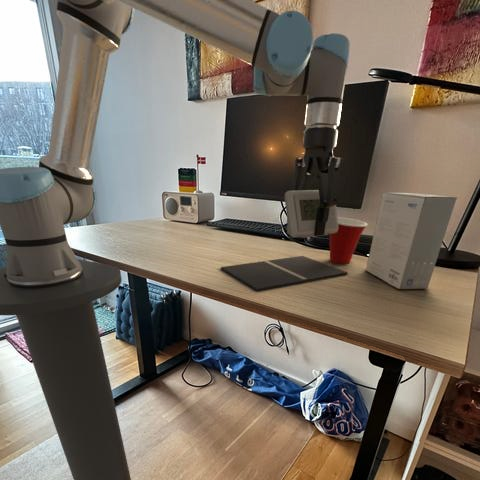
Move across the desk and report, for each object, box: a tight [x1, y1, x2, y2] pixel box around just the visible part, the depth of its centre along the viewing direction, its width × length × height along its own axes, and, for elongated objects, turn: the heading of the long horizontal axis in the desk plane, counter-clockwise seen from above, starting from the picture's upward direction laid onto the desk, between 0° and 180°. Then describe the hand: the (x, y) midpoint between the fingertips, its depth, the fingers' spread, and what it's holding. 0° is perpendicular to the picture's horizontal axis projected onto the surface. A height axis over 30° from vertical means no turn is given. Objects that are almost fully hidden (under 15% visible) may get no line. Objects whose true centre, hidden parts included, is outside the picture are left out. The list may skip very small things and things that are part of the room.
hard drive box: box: [365, 192, 458, 290], centre depth 71 cm, size 16×8×20 cm, turn 8°
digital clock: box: [284, 189, 338, 239], centre depth 76 cm, size 16×9×11 cm, turn 110°
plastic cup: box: [329, 216, 368, 265], centre depth 87 cm, size 11×11×12 cm
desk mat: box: [220, 255, 348, 292], centre depth 79 cm, size 28×18×1 cm, turn 119°
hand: (308, 232), depth 78 cm, fingers closed on digital clock, 7 cm apart
